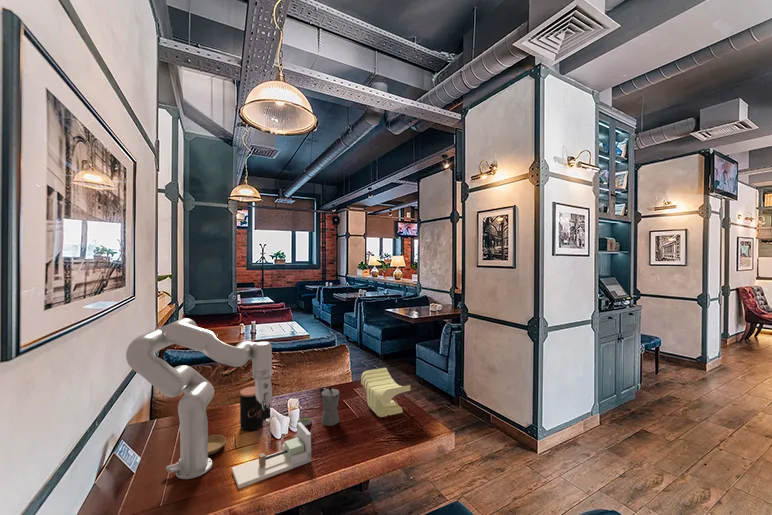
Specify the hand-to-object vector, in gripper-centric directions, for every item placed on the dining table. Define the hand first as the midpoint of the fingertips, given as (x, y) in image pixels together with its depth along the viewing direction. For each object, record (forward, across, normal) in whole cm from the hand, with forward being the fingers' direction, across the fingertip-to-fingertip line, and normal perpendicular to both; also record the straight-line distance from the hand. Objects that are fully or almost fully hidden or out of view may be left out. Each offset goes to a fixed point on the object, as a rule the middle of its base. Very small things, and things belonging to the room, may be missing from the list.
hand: (263, 414), depth 138 cm
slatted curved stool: (+21, +11, -67) cm, 71 cm away
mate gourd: (+20, +10, -21) cm, 31 cm away
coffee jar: (+20, +33, -2) cm, 39 cm away
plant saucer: (+20, +23, +18) cm, 35 cm away
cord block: (+18, -5, -6) cm, 20 cm away
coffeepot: (+20, +17, -37) cm, 45 cm away
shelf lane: (+20, -5, -2) cm, 21 cm away
